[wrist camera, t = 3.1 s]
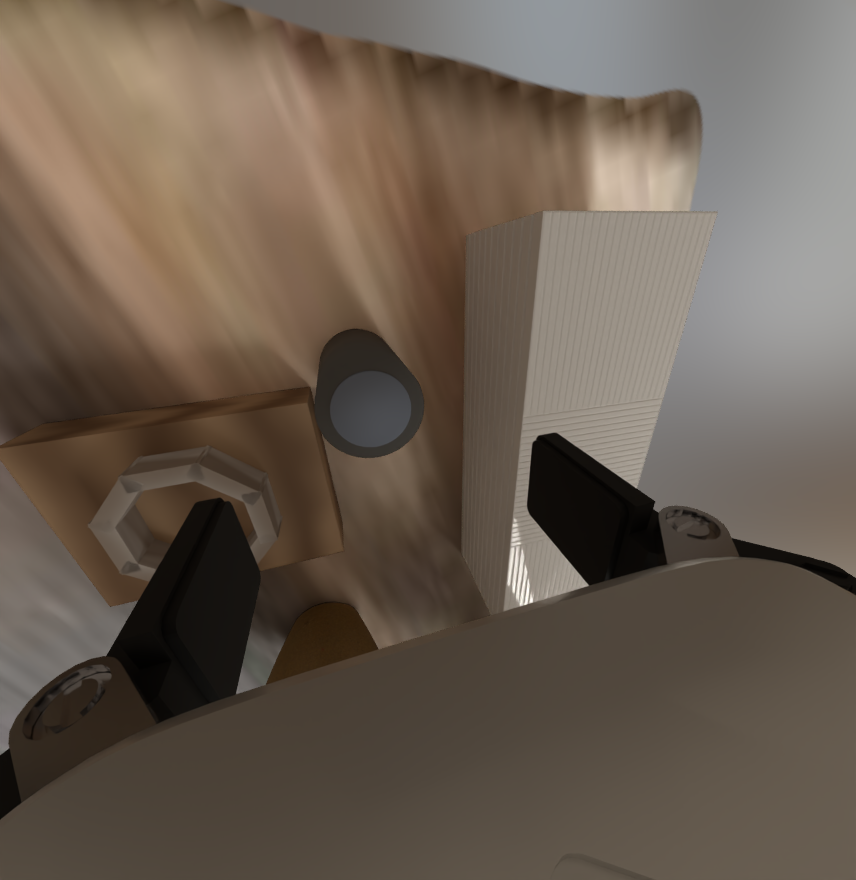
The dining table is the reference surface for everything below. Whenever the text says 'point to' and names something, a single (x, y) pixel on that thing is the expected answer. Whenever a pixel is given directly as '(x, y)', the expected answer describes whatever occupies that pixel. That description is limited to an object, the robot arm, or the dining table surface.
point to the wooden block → (180, 482)
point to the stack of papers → (564, 368)
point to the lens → (366, 396)
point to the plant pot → (322, 640)
